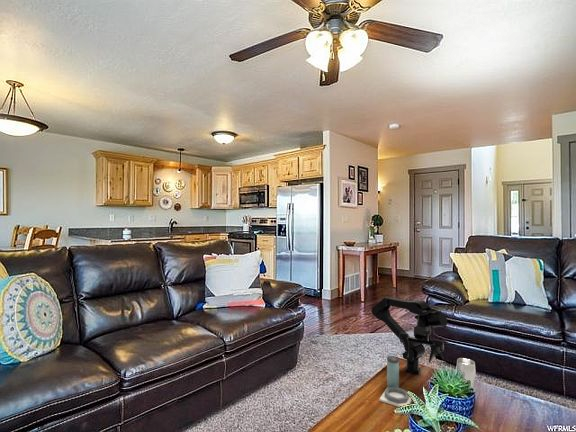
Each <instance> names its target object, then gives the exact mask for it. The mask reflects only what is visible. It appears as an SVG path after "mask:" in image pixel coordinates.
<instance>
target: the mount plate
mask: <svg viewBox="0 0 576 432" xmlns="http://www.w3.org/2000/svg"><path fill="white" fill-rule="evenodd" d="M407 393H408V392H407V391H406V390H405V389H403V388H400V387H399V388H397V387H391V388H389V387H387V386H386V389H384V392H383V393H382V394H381V396H380V397H379V402H382V403H385V404H389V405H391V406H395V407H398V408H401V407H400V406H403V405H407V404H410V405H411V403H412V402H413V401H412V400H413V399H412V400H411V398H410V397H409V396H408V395H407Z"/></svg>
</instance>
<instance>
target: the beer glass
mask: <svg viewBox="0 0 576 432" xmlns="http://www.w3.org/2000/svg"><path fill="white" fill-rule="evenodd" d="M457 370H458V371H460V372H462V374H463V377H464V378H465V379H466V380H470V381H471V386H472V388H473V389H474V388H475V387H474V385H475V382H476V374H477V373H476V362H475V361H474V360H473V359H470V358H465V357H459V358H457V360H456V371H457Z"/></svg>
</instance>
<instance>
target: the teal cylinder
mask: <svg viewBox="0 0 576 432" xmlns="http://www.w3.org/2000/svg"><path fill="white" fill-rule="evenodd" d="M387 387H389V388H391V387H397V388H400V358H399V357H397V356H395V355H387V357H386V388H387Z"/></svg>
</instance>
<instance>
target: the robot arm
mask: <svg viewBox="0 0 576 432" xmlns="http://www.w3.org/2000/svg"><path fill="white" fill-rule="evenodd" d="M391 307H396V308H399V309H403V310H407V311H408V312H410V313H411V314H414V315H415V316H414V319H416V321H417V322H416V325H415V326H413V337H412V336H410V334H409V333H408V332H406V331H405V329H404V328H403V327H402V326H401V325H400V324H399V323H398V322H397V321H396V320H395V319H394V317H392V315H391V311H390V308H391ZM371 314H372V316H373V317H374V318H376V319H377V320H379V321H381V322H383V323H384V324H385V325H386V326H387V328H388V329H390V330H391V332H392V333H393V334H394V335H395V337H396V338H398V339H399V342H400V343H401V344H402V345H403V348H404V352H402V353H401V355H402V358H403V359H404V360H405V361H406V364H405V366H406V367H405V368H404V369H403V370H404V372H406V373H410V374H414V375H419V373H420V372H421V367H419V366H420V364H419V363H420V358H422V357H423V355H424V354H425V353H426V347H425V345H426V346H430V347H431V349H430V353H429V354H430V355H429V358H428V363H430V364H431V362H432V360H433V359H434V357H436V355H437V354H438V353H441V352H444V351H445V345H444V344H445V343H444V341H443V340H442V339H437V338H433V340H429V338H430V336H431V334H432V328H440V327H446V326H447V325H448V318H447V316H446V315H445V314H444V313H443V312H442V310H436V311H434V310H433V308H431V306H430V305H429V304H428V303H427V302H426V301H425V300H424V299H420V300H419V299H417V300H407V299H401V298H396V297H392V296H387V297H386V296H385V297H383V298H382V299H381V300H380V301H379V302H378V303H376V304H375V305H373V306H372V307H371Z"/></svg>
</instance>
